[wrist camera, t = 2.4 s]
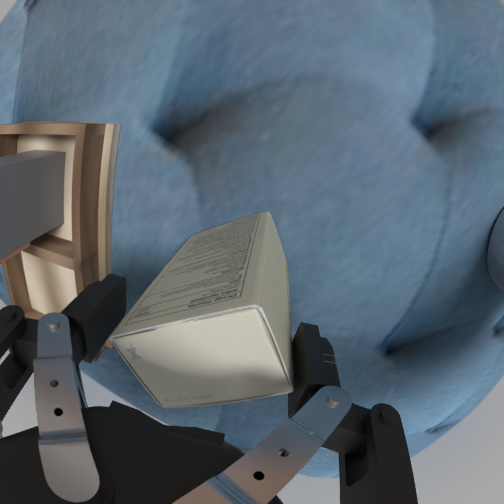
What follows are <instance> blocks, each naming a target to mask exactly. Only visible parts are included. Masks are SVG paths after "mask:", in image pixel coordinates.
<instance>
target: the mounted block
mask: <svg viewBox="0 0 504 504" xmlns="http://www.w3.org/2000/svg"><path fill="white" fill-rule="evenodd" d="M65 159H66V152H62V151H50V150H30V151H25V152H21V153H16V154H11V155H7V156H3V157H0V264H2V263H3V262H5V261H6V260H8V259H9V258H11V257H12V256H14V255H16V254H17V253H19V252H20V251H22V250H24V249H25V248H27V247H29V246H30V241H32V240H34V239H35V238H37V237H39V236H41V235H43V234H44V233H46V232H48V231H50V230H52V229H53V228H55V227H57V226H59V225H61V224H63V223H64V175H65Z"/></svg>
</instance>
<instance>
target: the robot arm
mask: <svg viewBox="0 0 504 504" xmlns="http://www.w3.org/2000/svg"><path fill="white" fill-rule="evenodd" d="M487 264H488V271H489V274H490V277H491V279H492V280H493V282H494V283H495V284H496V285H497V286H498V287H499V288H500V289H501V290H503V291H504V209H503V211H502V212H501V214H500V216H499V217H498V219H497V221H496V223H495V226H494V228H493V231H492V234H491V237H490V241H489V247H488V254H487ZM125 311H126V279H125V278H124V277H121V276H117V275H114V274H111V273H110V274H108V275H107V276H106V277H105V278H104V279H103V280H102V281H96V282H94V283H91V284H89V285H88V286H87V287H86V288H85V289H84V290H83V291H82V292H81V293H80V294H79V295H78V296H77V297H76V298H74V299H73V300H72V301H71V302H70V303H69V304H68V305H67V306H66V307H65V308H64V309H63V310H62V311H61V313H57V312H52V313H48V314H45V315H44V316H42V317H41V318H40V320H37V319H31V318H26V317H25V314H24V311H23V309H22V308H21V307H19V306H17V305H9V306H6V307H4V308H2V309H1V310H0V359H1V357H2V356H3V355H4V353H5V352H6V351H7V350H8V349H9V352H10V353H9V355H8V356H7V357H6V359H5V360H4V361H3V363H2V364H1V365H0V504H283V503H282V502H281V500H280V499H279V498H278V496H277V494H278V493H279V492H280V491H281V490H282V489H283V488H284V487H285V486H286V485H287V483H289V482H290V480H291V479H293V477H294V476H295V475H296V474H297V473H298V472H299V471H300V470H301V469H302V468H303V467H304V466H305V465H306V463H307V462H308V461H309V460H310V459H311V458H312V457H313V456H314V454H315V453H316V452H317V451H318V450H319V449H320V447H324V448H327V449H330V450H333V451H336V452H339V474H340V504H418V501H417V494H416V488H415V482H414V477H413V471H412V466H411V461H410V456H409V451H408V447H407V442H406V438H405V434H404V430H403V425H402V421H401V418H400V415H399V413H398V412H397V410H396V409H395V408H393V407H392V406H390V405H388V404H383V403H380V404H376V405H374V406H373V407H372V409H371V410H370V409H367V408H364V407H361V406H358V405H356V404H353V403H352V401H351V398H350V396H349V395H348V393H347V392H346V391H344V390H343V389H341V386H340V381H339V376H338V371H337V367H336V364H335V357H334V352H333V348H332V346H331V344H330V343H329V341H328V340H327V339H326V338H322V337H320V334H319V329H318V326H317V325H313V324H308V323H302V322H301V323H300V325H299V327H298V329H297V332H296V334H295V337H294V339H293V341H292V361H293V383H294V390H293V392H291V393H288V418H287V419H286V420H284V421H283V422H282V423H281V424H280V425H279V426H278V427H277V428H276V429H275V430H273V431H272V432H271V433H270V434H269V435H268V436H267V437H265V438H264V439H263V440H262V441H261V442H260V443H258V444H257V445H256V446H255V447H254V448H252V449H251V450H250V451H249V452H248V453H246V454H244V453H243V452H241V451H240V450H239V449H237V448H236V447H234V446H232V445H231V444H229V443H227V442H224V436H225V434H223V433H219V432H214V431H210V430H205V429H201V428H197V427H181V426H167V425H163V424H161V423H159V422H158V421H156V420H154V419H153V418H151V417H149V416H147V415H146V414H144V413H142V412H141V411H139V410H137V409H134V408H131V407H129V406H126V405H123V404H121V403H118V402H115V401H112V403H111V405H110V406H109V407H103V406H95V407H88V405H87V402H86V398H85V393H84V389H83V384H82V379H81V373H80V368H79V363H80V362H81V361H82V360H83V361H86V362H88V363H90V364H91V362H92V361H93V359H94V358H95V356H96V355H97V353H98V352H99V351H100V349H101V348H102V346H103V345H104V343H105V342H106V341H107V339H108V338H109V336H110V335H111V333H112V332H113V331H114V329H115V328H116V327H117V325H118V324H119V322H120V321H121V320H122V318H123V317H124V314H125ZM33 372H34V387H35V388H34V389H35V402H36V411H37V420H38V426H36V427H33V428H30V429H28V430H25V431H22V432H19V433H16V434H13V435H10V436H7V437H2V429H3V427H2V423H1V422H2V420H3V419H4V417H5V415H6V414H7V412H8V410H9V409H10V407H11V405H12V404H13V402H14V401H15V399H16V397H17V396H18V394H19V393H20V391H21V390H22V388H23V387H24V385H25V384H26V382H27V381H28V379H29V377H30V376H31V375H32V373H33Z"/></svg>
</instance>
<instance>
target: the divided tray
mask: <svg viewBox="0 0 504 504" xmlns="http://www.w3.org/2000/svg"><path fill="white" fill-rule="evenodd" d="M120 127H121V124H114V123H96V122H21V123H11V124H4V125H0V157H3V156H7V155H11V154H16V153H21V152H25V151H30V150H50V151H62V152H66V159H65V175H64V223H63V224H61V225H59V226H57V227H55V228H53V229H52V230H50V231H48V232H46V233H44V234H43V235H41V236H39V237H37V238H35V239H34V240H32V241H30V246H29V247H27V248H25V249H24V250H22V251H20V252H19V253H17V254H16V255H14V256H12V257H11V258H9V259H8V260H6V261H5V262H3V263H2V265H3V270H4V275H5V280H6V284H7V289H8V293H9V297H10V301H11V304H12V305H17V306H19V307H21V308H22V309H23V311H24V314H25V317H26V318H31V319H37V320H40V318H41V317H42V316H44V315H45V314H48V313H52V312H57V313H61V311H62V310H63V309H64V308H65V307H66V306H67V305H68V304H69V303H70V302H71V301H72V300H73V299H74V298H76V297H77V296H78V295H79V294H80V293H81V292H82V291H83V290H84V289H85V288H86V287H87V286H88V285H89V284H91V283H94V282H96V281H102V280H103V279H104V278H105V277H106V276H107V275H108V274H110V273H111V225H112V202H113V187H114V176H115V165H116V156H117V148H118V141H119V133H120ZM114 330H115V329H114ZM113 332H114V331H113ZM113 332H112V333H113ZM112 333H111V334H112ZM109 337H110V336H109ZM106 347H109V348H111V349H112V348H113V347H114V345H113V344H112V342H111V341H110V340H109V338H108V339H107V341H106V342H105V343H104V345H103V346H102V348H101V349H100V351H99V352H98V353H97V355H96V356H95V358H94V359H93V362H96V361H97V359H98V358H99V356H100V355H101V353H102V352H103V351H104V349H105V348H106Z"/></svg>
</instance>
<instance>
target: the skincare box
mask: <svg viewBox="0 0 504 504" xmlns="http://www.w3.org/2000/svg"><path fill="white" fill-rule="evenodd" d="M109 340H110V341H111V342H112V344H113V345H114V347H115V348H116V350H117V351H118V353H119V354H120V355H121V357H122V358H123V360H124V361H125V363H126V364H127V365H128V367H129V368H130V370H131V371H132V372H133V374H134V375H135V376H136V378H137V379H138V380H139V382H140V383H141V384H142V386H143V387H144V388H145V389H146V390H147V391H148V393H149V394H150V395H151V396H152V398H153V399H154V400H155V401H156V402H157V404H158V405H159V406H160V407H162V408H186V407H200V406H211V405H220V404H228V403H235V402H243V401H250V400H256V399H261V398H267V397H272V396H277V395H283V394H288V393H291V392H293V390H294V383H293V361H292V335H291V318H290V302H289V285H288V267H287V261H286V258H285V254H284V251H283V247H282V244H281V241H280V238H279V235H278V232H277V229H276V226H275V224H274V221H273V218H272V215H271V213H270V212H269V211H265V212H262V213H258V214H255V215H251V216H248V217H245V218H242V219H239V220H235V221H232V222H229V223H226V224H223V225H220V226H217V227H214V228H211V229H208V230H206V231H203V232H200V233H198V234H195V235H192V236H191V237H190V238H189V239H188V240H187V241H186V243H185V244H184V245H183V246H182V247H181V248H180V250H179V251H178V252H177V253H176V254H175V256H174V257H173V258H172V259H171V260H170V261H169V263H168V264H167V265H166V266H165V267H164V269H163V270H162V271H161V272H160V274H159V275H158V276H157V277H156V278H155V280H154V281H153V282H152V283H151V285H150V286H149V287H148V288H147V289H146V291H145V292H144V293H143V294H142V296H141V297H140V298H139V299H138V301H137V302H136V303H135V304H134V306H133V307H132V308H131V310H130V311H129V312H128V313H127V315H126V316H125V317H124V318H123V320H122V321H121V322H120V324H119V325H118V326H117V327H116V329H115V330H114V332H113V333H112V334H111V335H110V337H109Z"/></svg>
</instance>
